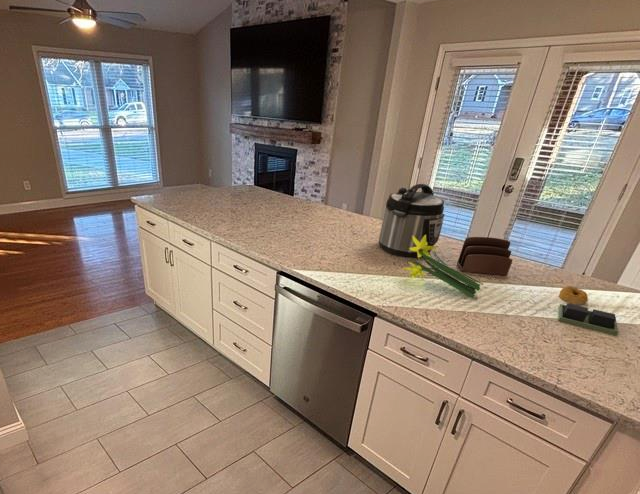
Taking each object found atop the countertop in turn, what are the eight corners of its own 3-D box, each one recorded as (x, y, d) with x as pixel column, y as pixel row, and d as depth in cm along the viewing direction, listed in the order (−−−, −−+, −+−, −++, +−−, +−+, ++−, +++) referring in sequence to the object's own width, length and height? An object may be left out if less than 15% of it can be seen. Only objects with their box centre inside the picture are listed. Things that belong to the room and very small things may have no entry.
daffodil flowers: (466, 306, 161) (389, 261, 173) (463, 311, 175) (392, 269, 186) (494, 269, 158) (414, 226, 169) (489, 277, 172) (415, 236, 183)
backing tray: (612, 321, 154) (615, 316, 153) (615, 337, 144) (618, 331, 143) (557, 308, 161) (560, 303, 160) (557, 322, 152) (560, 317, 150)
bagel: (560, 303, 165) (566, 292, 162) (555, 293, 174) (560, 282, 171) (589, 308, 162) (595, 297, 160) (582, 297, 171) (587, 287, 168)
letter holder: (456, 263, 198) (466, 234, 190) (500, 268, 196) (511, 238, 188) (461, 271, 190) (471, 241, 182) (507, 276, 187) (519, 246, 180)
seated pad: (582, 317, 155) (587, 307, 152) (583, 322, 151) (588, 312, 149) (562, 312, 157) (567, 302, 155) (562, 317, 154) (567, 307, 152)
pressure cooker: (390, 260, 198) (406, 191, 180) (365, 241, 221) (377, 178, 203) (446, 258, 203) (466, 191, 186) (416, 239, 226) (432, 178, 209)
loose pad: (609, 323, 151) (614, 314, 149) (610, 329, 147) (616, 319, 145) (588, 318, 154) (593, 309, 152) (588, 323, 150) (594, 314, 148)
